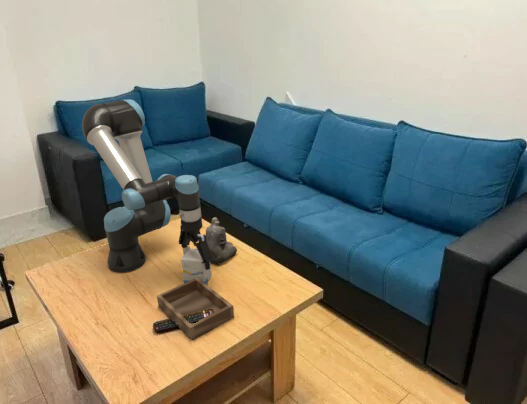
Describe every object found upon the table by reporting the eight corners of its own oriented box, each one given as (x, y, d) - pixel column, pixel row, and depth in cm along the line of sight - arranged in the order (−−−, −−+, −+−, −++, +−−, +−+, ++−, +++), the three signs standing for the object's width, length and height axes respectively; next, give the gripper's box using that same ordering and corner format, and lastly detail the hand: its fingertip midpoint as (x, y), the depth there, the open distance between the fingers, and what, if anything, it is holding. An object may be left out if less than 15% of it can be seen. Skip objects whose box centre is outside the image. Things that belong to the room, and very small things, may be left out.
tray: (158, 307, 151) (156, 295, 149) (198, 288, 161) (197, 277, 159) (191, 340, 135) (190, 328, 133) (234, 317, 145) (233, 305, 143)
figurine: (235, 249, 186) (232, 211, 179) (240, 263, 176) (237, 223, 169) (204, 253, 184) (200, 215, 176) (208, 268, 173) (204, 228, 166)
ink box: (205, 288, 161) (202, 261, 156) (183, 286, 163) (180, 259, 158) (212, 275, 169) (209, 249, 164) (191, 273, 170) (188, 247, 166)
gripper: (165, 211, 162) (172, 260, 170) (200, 232, 144) (207, 286, 152) (182, 205, 166) (189, 253, 174) (219, 225, 148) (224, 278, 156)
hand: (197, 268), depth 163 cm, fingers open, 13 cm apart
